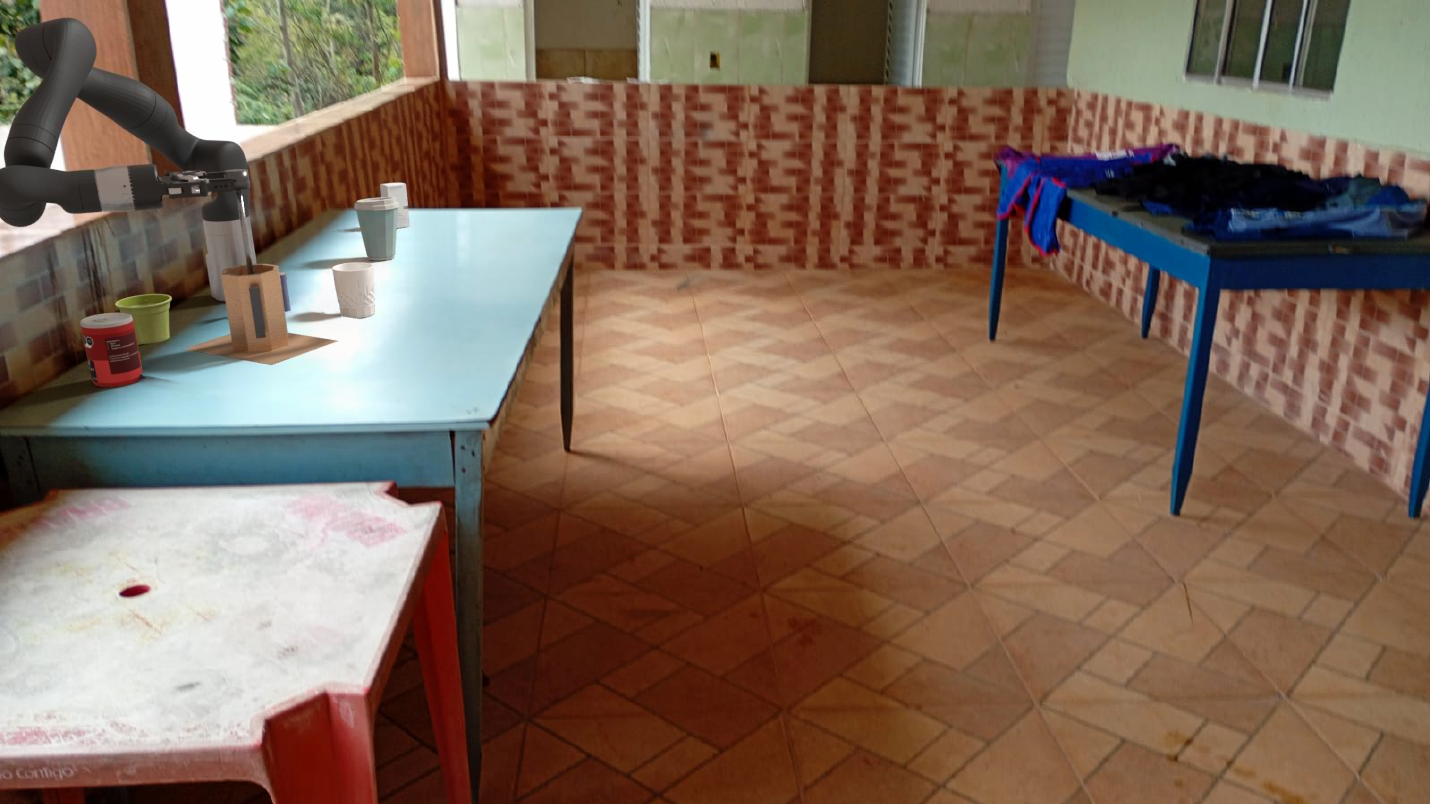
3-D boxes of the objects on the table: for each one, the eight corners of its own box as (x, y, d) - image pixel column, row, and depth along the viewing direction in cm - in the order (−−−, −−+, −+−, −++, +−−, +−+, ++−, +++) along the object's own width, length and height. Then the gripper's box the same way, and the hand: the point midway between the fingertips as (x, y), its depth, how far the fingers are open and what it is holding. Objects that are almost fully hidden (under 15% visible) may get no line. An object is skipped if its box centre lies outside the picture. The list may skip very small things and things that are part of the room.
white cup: (366, 320, 228) (360, 271, 224) (330, 318, 229) (324, 270, 226) (385, 310, 235) (379, 263, 232) (350, 308, 237) (344, 261, 233)
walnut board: (183, 355, 206) (182, 348, 206) (253, 332, 220) (252, 326, 219) (272, 371, 197) (271, 364, 197) (339, 346, 211) (338, 340, 210)
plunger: (227, 300, 204) (207, 172, 196) (255, 292, 209) (237, 167, 201) (253, 304, 201) (234, 174, 193) (281, 296, 207) (263, 169, 199)
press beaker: (219, 349, 206) (207, 273, 201) (262, 335, 214) (251, 262, 209) (263, 356, 201) (251, 279, 196) (305, 342, 210) (295, 267, 205)
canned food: (103, 374, 196) (91, 312, 193) (151, 373, 197) (139, 311, 193) (83, 389, 189) (70, 325, 185) (133, 387, 190) (121, 323, 186)
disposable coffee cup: (350, 261, 279) (343, 199, 274) (378, 252, 288) (372, 192, 283) (386, 264, 275) (379, 202, 270) (413, 255, 285) (407, 195, 280)
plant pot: (143, 355, 207) (134, 309, 204) (113, 347, 211) (104, 302, 208) (189, 342, 214) (182, 297, 211) (159, 335, 219) (151, 291, 216)
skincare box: (391, 229, 316) (386, 185, 312) (383, 227, 319) (378, 184, 315) (411, 226, 320) (406, 183, 316) (402, 224, 323) (398, 181, 319)
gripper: (125, 171, 184) (232, 164, 190) (124, 160, 196) (225, 154, 202) (133, 217, 186) (239, 208, 193) (132, 204, 198) (232, 196, 205)
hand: (232, 180), depth 198 cm, fingers open, 8 cm apart
